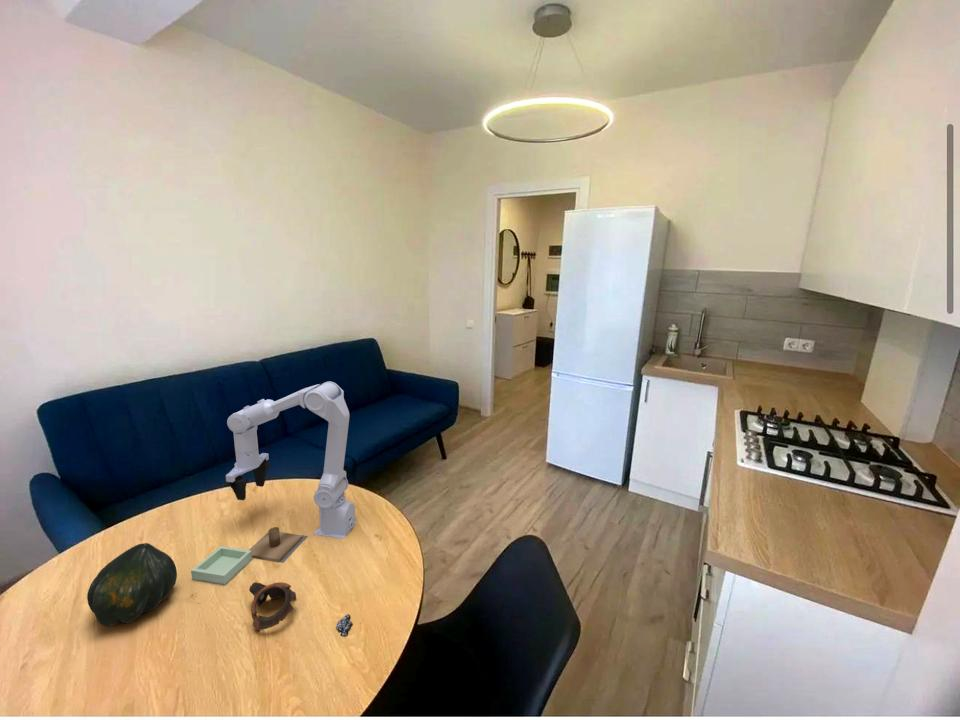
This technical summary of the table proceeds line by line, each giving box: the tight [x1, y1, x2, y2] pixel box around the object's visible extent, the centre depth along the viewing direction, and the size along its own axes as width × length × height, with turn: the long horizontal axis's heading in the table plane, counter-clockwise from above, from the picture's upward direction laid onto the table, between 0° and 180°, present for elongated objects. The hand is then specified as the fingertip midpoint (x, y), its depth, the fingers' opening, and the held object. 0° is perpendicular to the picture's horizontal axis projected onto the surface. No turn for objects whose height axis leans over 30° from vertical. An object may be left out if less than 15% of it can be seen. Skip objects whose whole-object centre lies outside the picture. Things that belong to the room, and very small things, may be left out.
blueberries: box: [335, 613, 354, 638], centre depth 84 cm, size 7×8×2 cm
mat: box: [248, 532, 309, 564], centre depth 108 cm, size 12×11×1 cm
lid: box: [249, 526, 304, 563], centre depth 106 cm, size 10×10×5 cm
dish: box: [190, 545, 253, 586], centre depth 98 cm, size 9×9×3 cm
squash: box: [86, 542, 178, 627], centre depth 86 cm, size 14×15×15 cm
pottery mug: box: [248, 581, 297, 632], centre depth 86 cm, size 12×10×8 cm
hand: (251, 492), depth 116 cm, fingers open, 7 cm apart
